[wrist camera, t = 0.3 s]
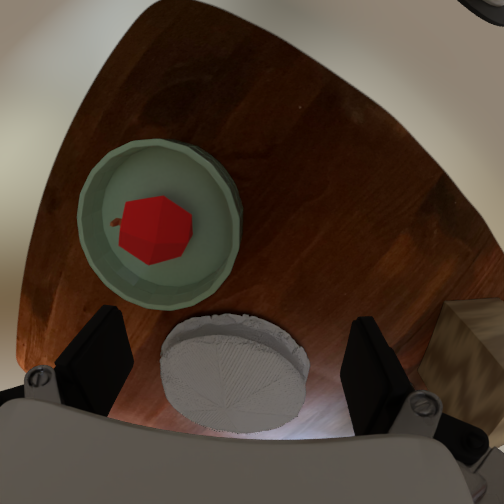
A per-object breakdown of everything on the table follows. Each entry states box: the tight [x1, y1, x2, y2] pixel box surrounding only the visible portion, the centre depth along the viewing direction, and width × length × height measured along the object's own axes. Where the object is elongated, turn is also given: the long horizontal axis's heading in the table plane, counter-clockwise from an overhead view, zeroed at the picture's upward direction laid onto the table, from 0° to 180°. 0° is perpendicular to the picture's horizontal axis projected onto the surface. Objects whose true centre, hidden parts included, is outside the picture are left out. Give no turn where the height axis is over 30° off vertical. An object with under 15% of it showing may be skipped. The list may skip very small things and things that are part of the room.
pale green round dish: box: [77, 139, 243, 311], centre depth 27 cm, size 16×16×4 cm
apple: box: [110, 195, 193, 266], centre depth 26 cm, size 7×7×8 cm
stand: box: [418, 298, 504, 448], centre depth 24 cm, size 12×12×18 cm
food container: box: [160, 314, 310, 434], centre depth 32 cm, size 20×20×7 cm
